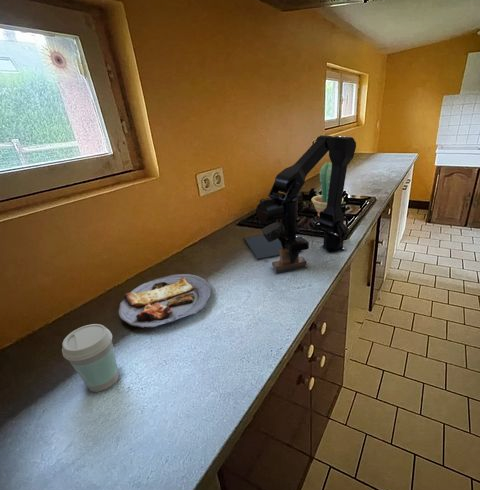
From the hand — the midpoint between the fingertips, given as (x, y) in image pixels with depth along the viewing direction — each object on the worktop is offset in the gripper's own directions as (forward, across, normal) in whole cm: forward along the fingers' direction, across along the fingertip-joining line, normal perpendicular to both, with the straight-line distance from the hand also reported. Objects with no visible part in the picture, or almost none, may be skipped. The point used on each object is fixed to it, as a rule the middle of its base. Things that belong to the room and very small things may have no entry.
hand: (289, 259), depth 101 cm
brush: (+4, 0, 0) cm, 4 cm away
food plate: (+4, +6, -40) cm, 41 cm away
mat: (+4, -20, 0) cm, 20 cm away
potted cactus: (+4, -43, +36) cm, 56 cm away
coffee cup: (+4, +30, -53) cm, 61 cm away
